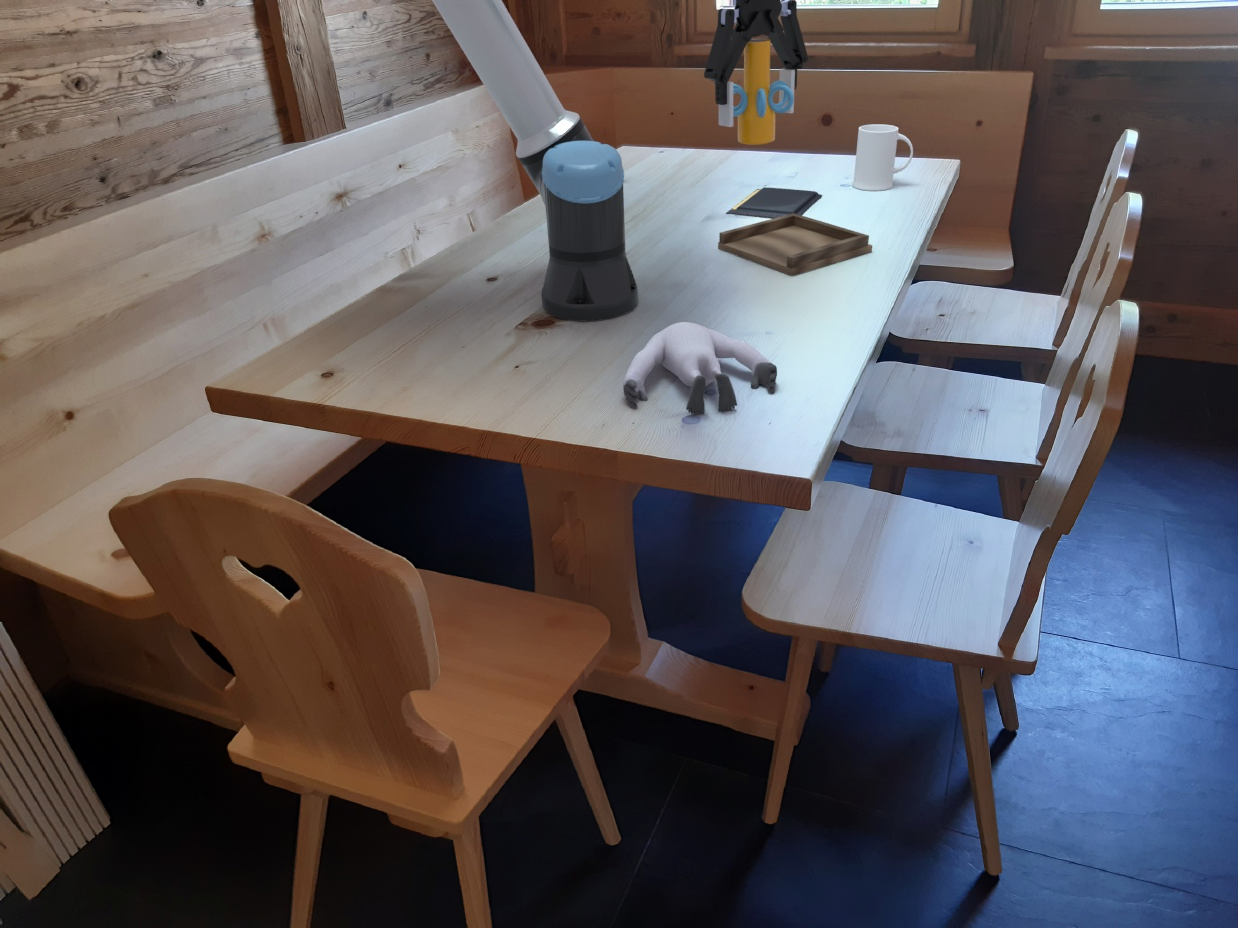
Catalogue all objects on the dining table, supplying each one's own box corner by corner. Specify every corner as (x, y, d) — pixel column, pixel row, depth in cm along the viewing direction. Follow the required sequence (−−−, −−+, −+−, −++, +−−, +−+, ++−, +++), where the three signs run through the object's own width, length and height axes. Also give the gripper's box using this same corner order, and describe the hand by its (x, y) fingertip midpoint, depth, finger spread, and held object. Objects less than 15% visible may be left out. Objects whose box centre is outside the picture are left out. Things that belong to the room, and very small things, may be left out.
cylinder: (708, 147, 147) (707, 46, 139) (733, 132, 155) (733, 36, 147) (780, 150, 142) (783, 45, 134) (802, 135, 149) (806, 35, 142)
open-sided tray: (792, 276, 150) (793, 258, 149) (718, 248, 164) (718, 232, 162) (871, 251, 159) (873, 235, 158) (794, 227, 173) (795, 212, 171)
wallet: (795, 214, 176) (722, 207, 182) (794, 224, 177) (722, 216, 183) (826, 189, 191) (758, 183, 197) (826, 198, 192) (757, 192, 198)
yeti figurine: (783, 425, 111) (756, 355, 128) (792, 376, 108) (763, 311, 125) (623, 421, 110) (618, 351, 127) (626, 371, 107) (620, 306, 124)
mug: (909, 182, 198) (916, 124, 192) (908, 192, 191) (915, 133, 185) (853, 180, 201) (858, 123, 195) (850, 190, 194) (856, 131, 188)
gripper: (710, -25, 127) (712, 135, 138) (835, -41, 138) (828, 109, 149) (677, -25, 132) (682, 129, 144) (800, -41, 143) (796, 104, 155)
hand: (756, 119), depth 146 cm, fingers closed on cylinder, 12 cm apart
